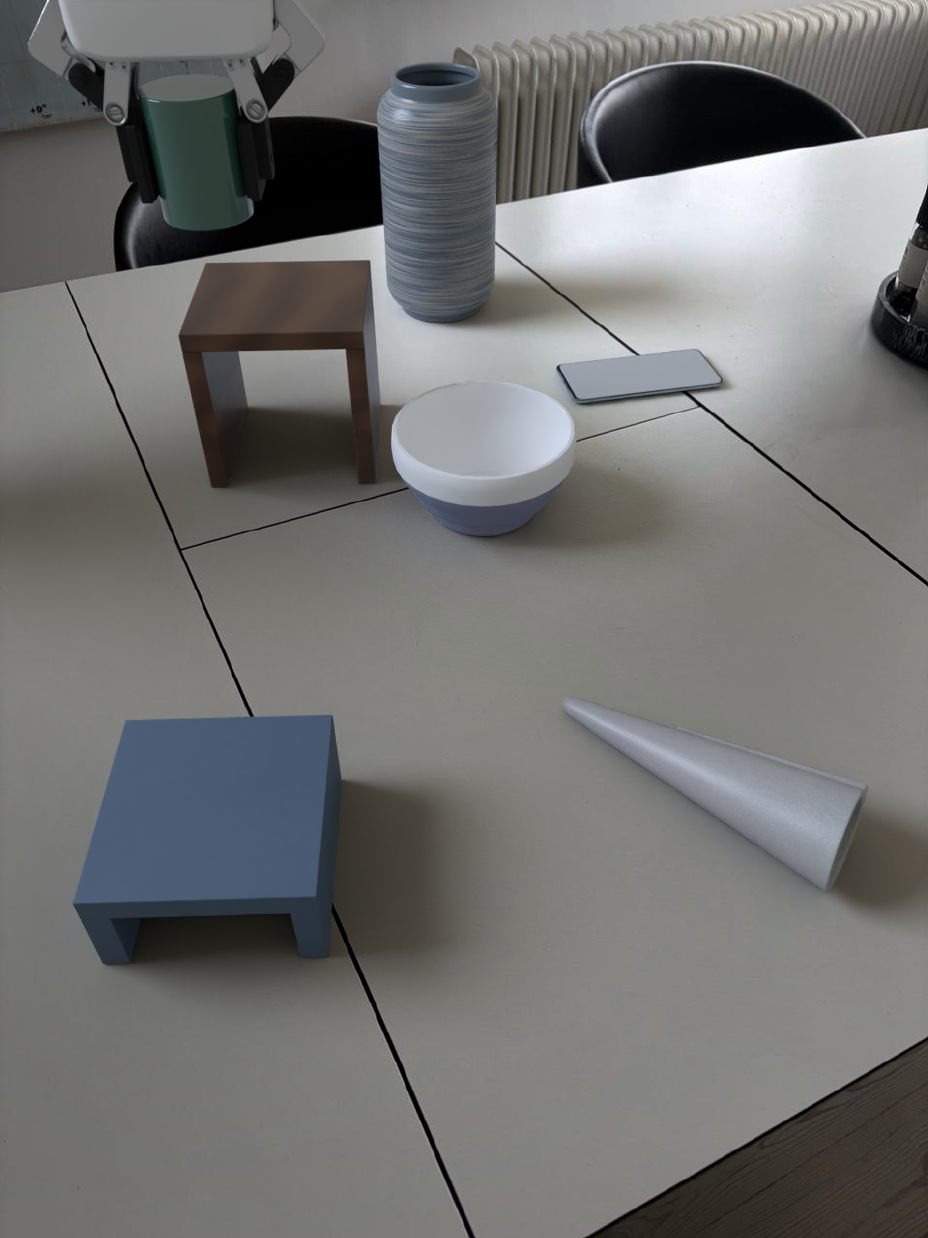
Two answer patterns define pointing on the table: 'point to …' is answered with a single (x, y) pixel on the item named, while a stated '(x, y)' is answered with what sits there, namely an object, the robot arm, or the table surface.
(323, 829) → the lower shelf
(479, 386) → the bowl
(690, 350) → the smartphone
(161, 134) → the jar
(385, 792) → the table surface
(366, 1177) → the table surface
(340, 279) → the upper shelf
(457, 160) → the vase
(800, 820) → the long tapered cone
